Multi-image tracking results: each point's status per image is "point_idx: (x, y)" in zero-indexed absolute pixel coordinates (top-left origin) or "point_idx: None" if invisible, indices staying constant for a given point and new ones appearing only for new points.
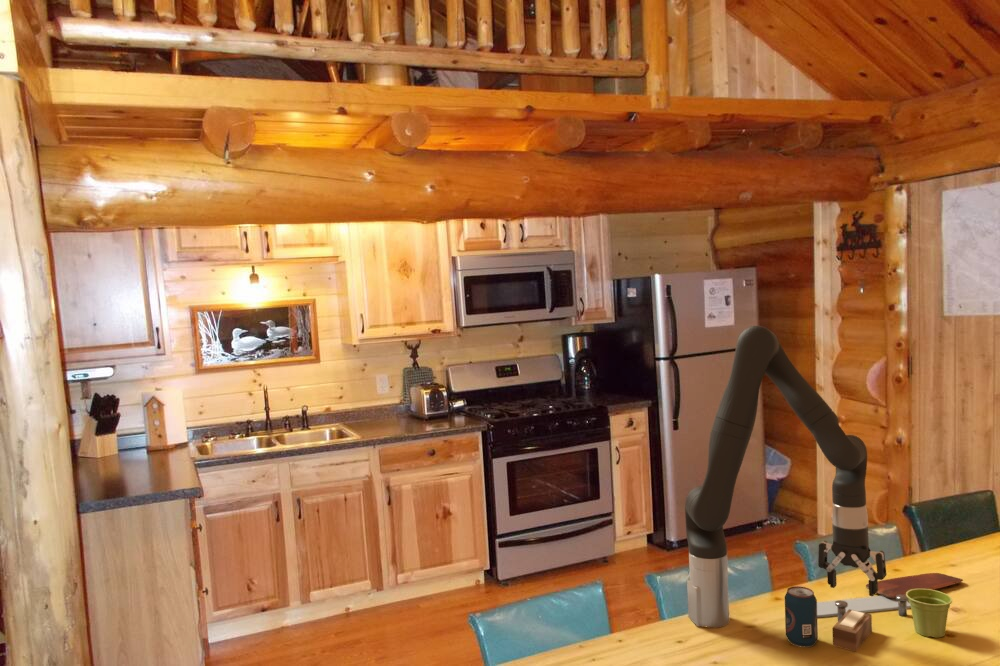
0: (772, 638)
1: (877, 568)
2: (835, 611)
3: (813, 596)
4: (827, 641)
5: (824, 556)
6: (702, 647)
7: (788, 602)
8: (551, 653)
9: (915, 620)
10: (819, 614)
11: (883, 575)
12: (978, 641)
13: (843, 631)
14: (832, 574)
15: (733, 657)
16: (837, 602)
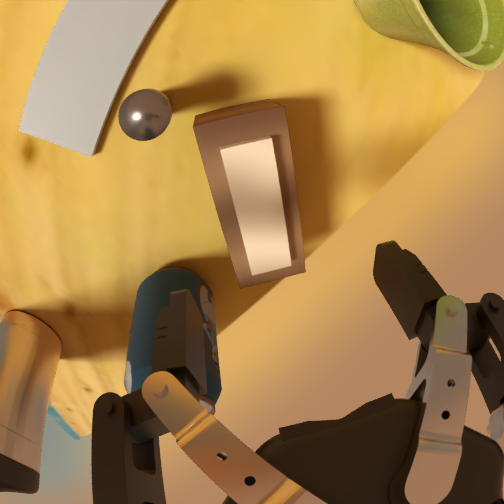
0: (132, 318)
1: (482, 386)
2: (108, 75)
3: (211, 397)
4: (212, 248)
5: (158, 484)
6: (113, 386)
7: None
8: (80, 433)
9: (389, 27)
10: (92, 141)
11: (486, 343)
12: None
13: (271, 279)
14: (205, 387)
15: None
16: (131, 125)
